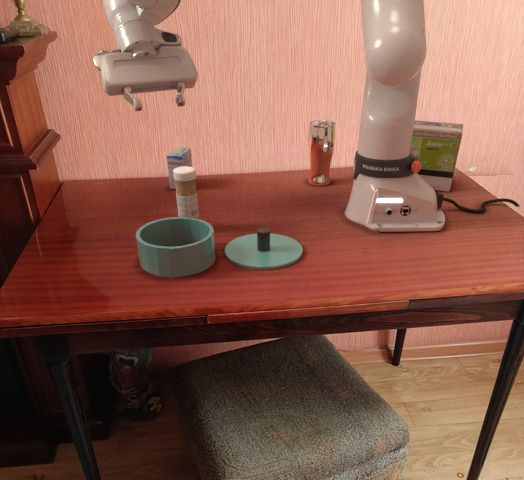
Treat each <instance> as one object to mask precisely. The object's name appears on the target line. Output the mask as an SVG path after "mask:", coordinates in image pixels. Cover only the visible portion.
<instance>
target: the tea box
mask: <svg viewBox="0 0 524 480" xmlns="http://www.w3.org/2000/svg"><path fill="white" fill-rule="evenodd" d="M463 129H464V124H463V123H453V122H441V121H429V120H417V119H415V122H414V128H413V135H412V141H411V148H410V153H411V154H412V155H414V154H415V156H416V157H417V158H418V161H419V162H420V163H421V168H420V169H421V170H419V172H416V173H418V174H419V175H420V176H421V177H422V178H423V179H424V180H425V181H426V182H427V183H428V184H430V185H431V186H432V188H433V189H434V190H435V191H437V192H446V193H449V192H451V191H450V190H451V187H452V183H453V179H454V174H455V170H456V165H457V161H458V156H459V151H460V147H461V143H462V138H463V131H464V130H463Z"/></svg>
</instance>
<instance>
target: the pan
mask: <svg viewBox="0 0 524 480" xmlns="http://www.w3.org/2000/svg"><path fill="white" fill-rule="evenodd" d="M135 242H136V248H137V254H138V261H139V265H140V267H141V268H142V270H143V271H145V272H147V273H149V274H150V275H153V276H158V277H163V278H164V277H165V278H181V277H188V276H193V275H197V274H199V273H202V272H205V271H206V270H208V269H209V268H211V267H212V266H213V265H214V264H215V262H216V260H217V259H216V258H217V257H216V243H215V230H214V227H213V226H212V224H211V223H210V222H208V221H205V220H204V219H201V218H199V219H196V218H189V217H178V216H173V217H171V216H170V217H165V218H159V219H156V220H152V221H149V222H147V223H145V224H143V225H142V226H140V227H139V228H138V229H137V231H136V232H135Z"/></svg>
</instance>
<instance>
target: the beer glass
mask: <svg viewBox="0 0 524 480" xmlns="http://www.w3.org/2000/svg"><path fill="white" fill-rule="evenodd" d="M336 124H337V123H336V122H335V121H333V120H329V119H315V120H312V121H309V128H308V136H307V147H308V148H307V151H308V158H309V175H308V179H307V183H308V184H309V185H312V186H318V187H323V186H328V185H330V184H331V182H332V180H331V165H332V160H333V156H334V152H335V147H336V136H337V134H336V131H337V130H336V126H337V125H336Z"/></svg>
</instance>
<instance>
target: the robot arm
mask: <svg viewBox="0 0 524 480" xmlns="http://www.w3.org/2000/svg"><path fill="white" fill-rule="evenodd" d="M181 2H182V0H102V5H103V9H104V12H105V16H106V19H107V22H108V25H109V27H110V28H111V30H112V31H113V33H114V34H113V35H114V42H115V45H116V47H117V48H116V49H109V50H103V49H102V50H98V52H97V53H95V54H94V55H93V59H92V61H93V64H94V66H95V68H96V70H97V71H99V74H100V75H99V76H100V81H101V85H102V86H101V87H102V89H103V92H104V93H105V94H106V95H107V96H109V97H113V96H115V97H116V96H123V98H124V100H125V101H127V102H128V103H129V104H130V105H131V107H132V109H133V111H134V112H142V111H143V103H142V100H141V98H136V97H135V96H134V95H135V94H145V93H146V94H147V93H156V92H165V91H176V92H177V94H176V97H175V104H176V106H177V107H178V108H179V107H185V105H186V98H185V95H184V94H185V90H187V89H193V88H194V87H195V86H196V84H197V81H198V77H199V73H198V70H197V67H196V65H195V61H194V60H193V58H192V56H191V54H190V52H189V50H187V49H186V48H185V47H184V46H183V39H182V36H181V35H180V34H177V33H173V32H170V31H165V30H162V29H160V28H157V27H155V26H156V25H159V24H161V23H162V22H164V21H165V20H166V19H168V18H169V17H170V16H171V15H172V14H173V13H175V12H176V11H177V9H178V8H179V6H180V4H181ZM360 11H361V12H360V13H361V26H362V40H363V51H364V61H365V62H364V63H365V68H366V72H365V73H366V74H365V83H364V90H363V97H362V106H361V112H360V123H359V132H358V143H357V144H358V145H357V150H356V151H355V155H354V158H353V168H352V176H353V177H352V178H353V182H352V187H351V192H350V196H349V199H348V201H347V204H346V205H347V206H346V209H345V210H344V215H345V217H346V218H347V219H348V220H350V221H352V222H354V223H357V224H360V225H362V226H365V227H367V228H368V229H370V230H371V231H378V232H380V233H392V232H397V233H398V232H402V233H403V232H438V231H441V230H442V229H444V227H445V224H446V216H445V213H444V212H443V210H442V207H443V202H447V203H450V204H452V205H453V206H454V207H455V208H457V209H458V210H460V211H464V212H467V213H475V214H479V213H484V212H485V211H486V210H487V206H486V205H490V204H494V203H502V202H503V203H509V204H512V205H513V206H514V207H516V208H520V204H519V203H518V202H517V201H516V200H514V199H510V198H495V199H489V200H485V201H482V202H481V208H470V207H465V206H462V205H460V204H459V203H458V202H457V201H455V200H453V199H451V198H448V197H444V196H445V195H444V194H443V193H441V192H440V191H438V190H434V189H433V188H432V186H431V185H430V184H428V183H427V182H426V181H425V180H424V179H423V178H422V177H421V176H420V175H419V174H418V173H416V172H419V170H421V169H420V168H421V163H420V162H419V161H418V158H417V157H416V156H415V154H414V155H412V154H411V153H410V148H411V141H412V135H413V128H414V122H415V120H416V115H417V107H418V99H419V93H420V92H419V91H420V84H421V76H422V70H423V66H424V64H425V62H426V61H425V60H426V56H427V33H426V17H425V15H426V14H425V0H360Z"/></svg>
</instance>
